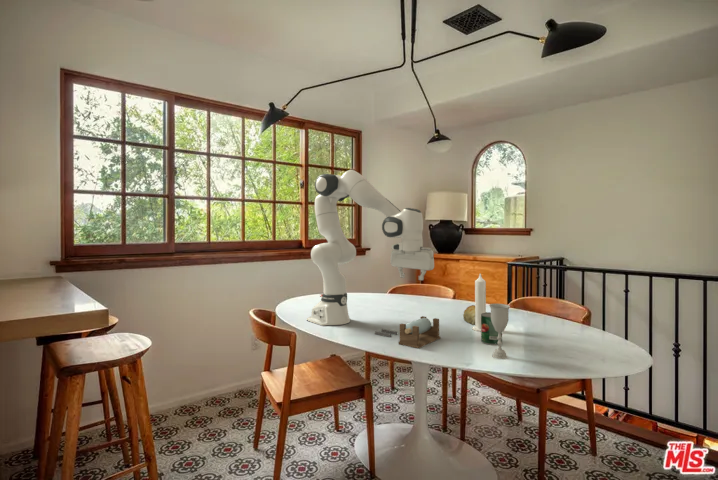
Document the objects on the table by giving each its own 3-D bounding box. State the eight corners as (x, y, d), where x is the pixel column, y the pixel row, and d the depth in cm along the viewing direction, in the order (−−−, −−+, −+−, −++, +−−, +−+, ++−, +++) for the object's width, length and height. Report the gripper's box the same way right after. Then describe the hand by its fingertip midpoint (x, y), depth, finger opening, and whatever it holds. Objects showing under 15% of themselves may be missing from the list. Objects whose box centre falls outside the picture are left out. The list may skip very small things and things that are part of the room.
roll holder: (418, 348, 150) (418, 327, 149) (398, 344, 156) (398, 324, 155) (440, 338, 163) (440, 319, 162) (421, 334, 169) (421, 316, 168)
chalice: (486, 353, 142) (485, 303, 142) (504, 352, 143) (504, 303, 142) (494, 360, 135) (494, 308, 135) (514, 359, 136) (513, 307, 135)
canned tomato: (476, 340, 158) (476, 313, 158) (492, 338, 162) (492, 311, 161) (490, 346, 151) (490, 317, 151) (506, 343, 154) (506, 315, 154)
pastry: (467, 317, 198) (467, 302, 198) (493, 320, 192) (493, 304, 191) (458, 324, 186) (458, 307, 186) (485, 327, 180) (485, 309, 179)
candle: (490, 332, 171) (489, 274, 170) (473, 331, 172) (472, 274, 171) (488, 327, 178) (487, 272, 177) (471, 327, 179) (471, 272, 178)
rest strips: (374, 334, 171) (374, 331, 171) (382, 331, 175) (382, 328, 175) (389, 337, 166) (389, 334, 166) (397, 334, 170) (397, 331, 170)
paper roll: (429, 332, 166) (420, 323, 168) (436, 323, 163) (426, 314, 166) (407, 341, 153) (398, 331, 156) (414, 331, 151) (404, 321, 154)
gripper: (437, 247, 163) (436, 280, 164) (397, 244, 177) (396, 275, 177) (429, 248, 158) (428, 282, 159) (388, 245, 172) (388, 277, 173)
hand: (411, 278), depth 168 cm, fingers open, 8 cm apart
